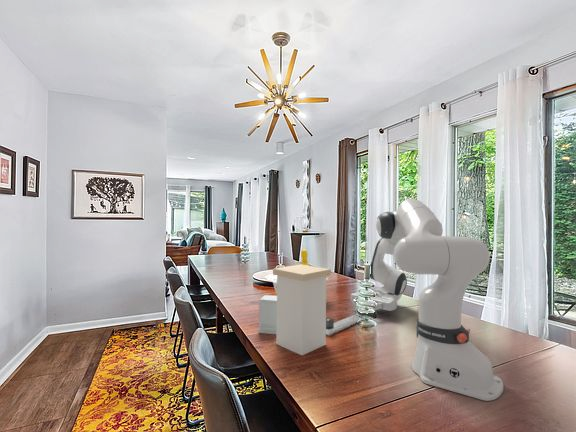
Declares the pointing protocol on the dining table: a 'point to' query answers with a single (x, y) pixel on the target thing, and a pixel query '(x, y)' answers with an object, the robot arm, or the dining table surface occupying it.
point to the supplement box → (268, 314)
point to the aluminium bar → (339, 324)
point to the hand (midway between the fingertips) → (363, 304)
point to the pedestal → (301, 307)
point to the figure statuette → (304, 257)
